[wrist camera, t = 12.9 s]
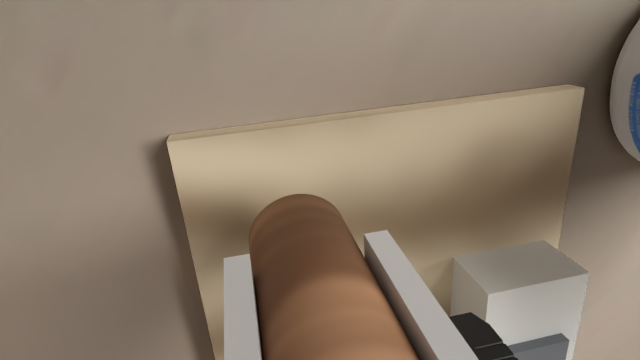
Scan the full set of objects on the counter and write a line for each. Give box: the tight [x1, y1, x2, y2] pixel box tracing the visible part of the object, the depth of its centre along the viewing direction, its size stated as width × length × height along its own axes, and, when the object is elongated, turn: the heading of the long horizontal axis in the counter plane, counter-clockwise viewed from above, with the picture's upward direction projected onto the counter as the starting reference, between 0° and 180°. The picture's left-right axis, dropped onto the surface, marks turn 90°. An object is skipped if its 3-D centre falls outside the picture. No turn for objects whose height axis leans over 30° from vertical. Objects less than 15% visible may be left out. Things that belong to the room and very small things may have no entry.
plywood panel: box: [167, 84, 585, 360], centre depth 22 cm, size 22×18×1 cm
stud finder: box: [450, 240, 590, 360], centre depth 21 cm, size 7×5×4 cm
